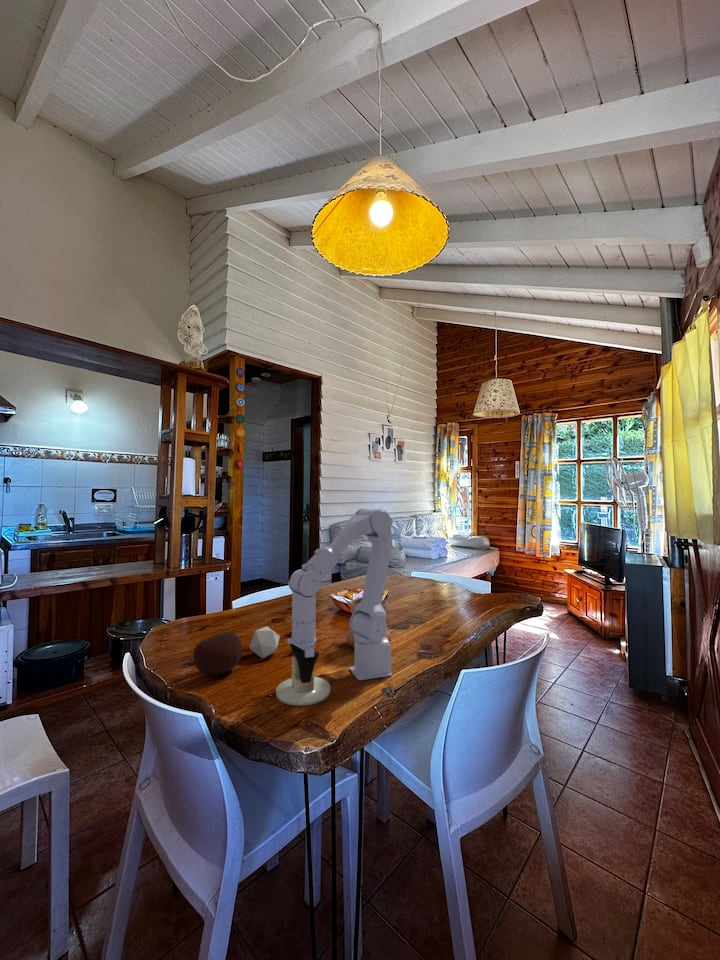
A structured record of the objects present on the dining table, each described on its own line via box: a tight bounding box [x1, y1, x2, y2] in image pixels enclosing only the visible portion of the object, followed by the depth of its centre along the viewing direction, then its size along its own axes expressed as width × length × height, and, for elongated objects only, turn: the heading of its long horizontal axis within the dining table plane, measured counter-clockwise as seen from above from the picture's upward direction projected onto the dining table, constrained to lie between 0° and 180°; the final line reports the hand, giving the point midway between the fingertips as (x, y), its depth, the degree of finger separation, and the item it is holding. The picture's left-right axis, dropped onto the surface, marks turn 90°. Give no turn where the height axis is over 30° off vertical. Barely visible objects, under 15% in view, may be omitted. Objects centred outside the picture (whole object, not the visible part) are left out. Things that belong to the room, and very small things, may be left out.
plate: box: [275, 676, 331, 707], centre depth 97 cm, size 13×13×1 cm
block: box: [291, 655, 315, 693], centre depth 97 cm, size 4×4×7 cm
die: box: [248, 626, 281, 660], centre depth 120 cm, size 8×9×10 cm
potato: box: [192, 631, 243, 676], centre depth 108 cm, size 11×13×10 cm
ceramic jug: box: [345, 596, 392, 649], centre depth 128 cm, size 18×14×14 cm
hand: (303, 676), depth 97 cm, fingers open, 5 cm apart
